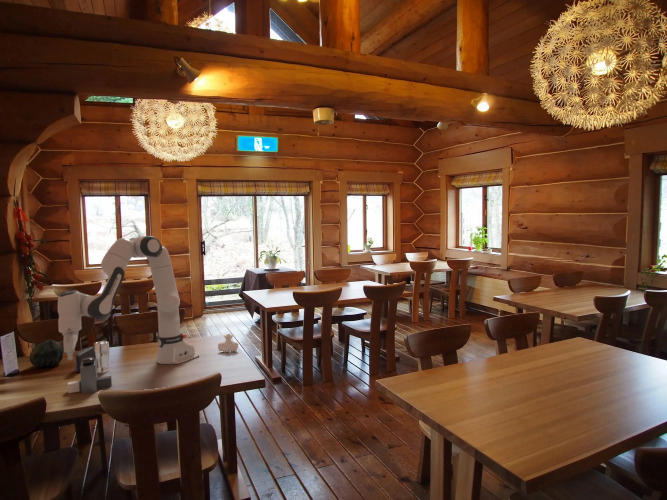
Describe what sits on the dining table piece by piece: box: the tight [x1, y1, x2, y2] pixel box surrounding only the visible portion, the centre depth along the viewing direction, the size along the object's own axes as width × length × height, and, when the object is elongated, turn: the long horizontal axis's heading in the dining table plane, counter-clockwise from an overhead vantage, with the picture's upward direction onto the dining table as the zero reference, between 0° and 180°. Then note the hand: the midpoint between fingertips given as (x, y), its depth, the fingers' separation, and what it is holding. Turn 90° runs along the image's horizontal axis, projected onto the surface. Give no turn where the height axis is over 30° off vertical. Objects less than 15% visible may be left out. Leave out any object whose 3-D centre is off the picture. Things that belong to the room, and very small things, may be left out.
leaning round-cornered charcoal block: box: [74, 346, 95, 373], centre depth 226 cm, size 16×5×9 cm, turn 2°
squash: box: [29, 339, 64, 368], centre depth 231 cm, size 14×15×15 cm
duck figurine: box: [217, 333, 239, 353], centre depth 254 cm, size 12×8×11 cm
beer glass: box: [93, 340, 110, 374], centre depth 221 cm, size 7×7×15 cm
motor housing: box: [79, 357, 99, 395], centre depth 199 cm, size 6×11×14 cm, turn 26°
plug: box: [67, 375, 113, 394], centre depth 199 cm, size 18×3×4 cm, turn 117°
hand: (71, 356), depth 195 cm, fingers open, 8 cm apart
